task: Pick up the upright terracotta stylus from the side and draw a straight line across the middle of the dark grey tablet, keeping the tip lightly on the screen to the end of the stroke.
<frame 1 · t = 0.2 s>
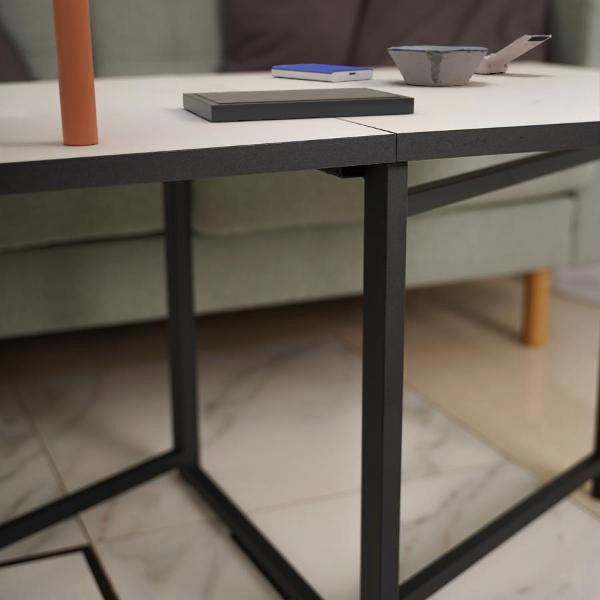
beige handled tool: (472, 73, 140), on the table
hard drive: (321, 79, 129), on the table
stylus: (80, 143, 69), on the table
tablet: (295, 110, 90), on the table
bowl: (436, 85, 120), on the table
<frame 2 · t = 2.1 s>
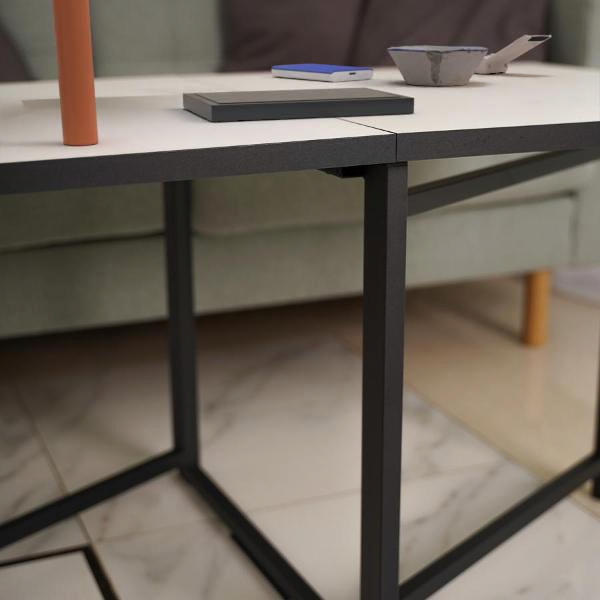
nothing on the table moved.
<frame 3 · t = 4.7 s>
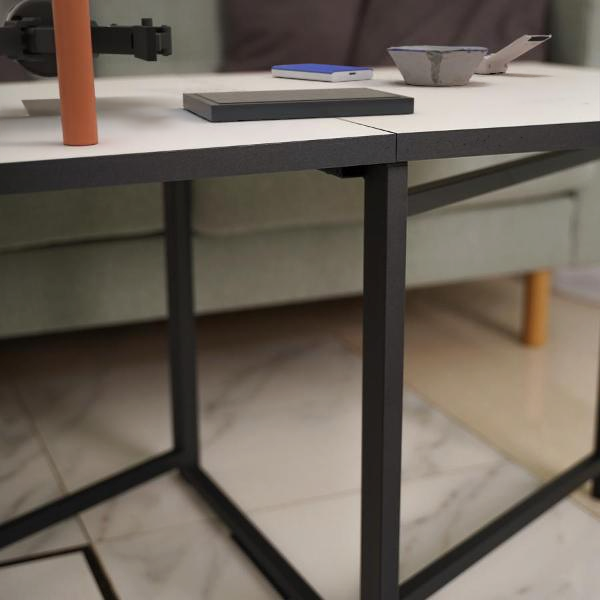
hand: (66, 45, 72), 7 cm above the table, tool horizontal, fingers open, 13 cm apart
nothing on the table moved.
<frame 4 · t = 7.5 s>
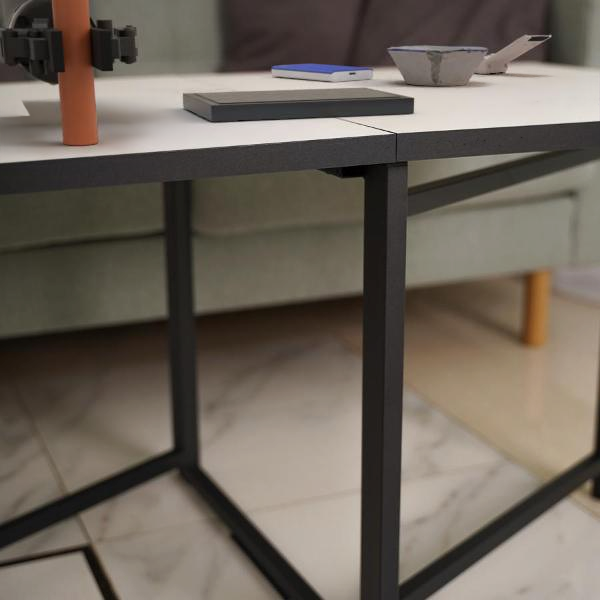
hand: (82, 51, 62), 7 cm above the table, tool horizontal, fingers closed on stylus, 3 cm apart
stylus: (80, 143, 69), on the table, touching gripper
everything else where it was.
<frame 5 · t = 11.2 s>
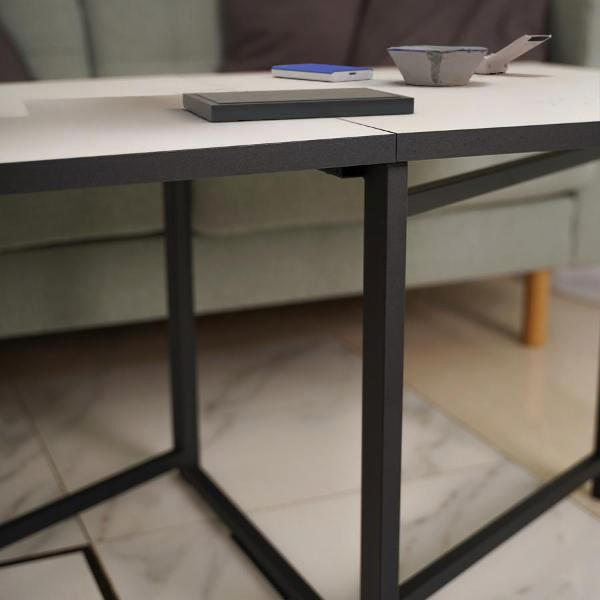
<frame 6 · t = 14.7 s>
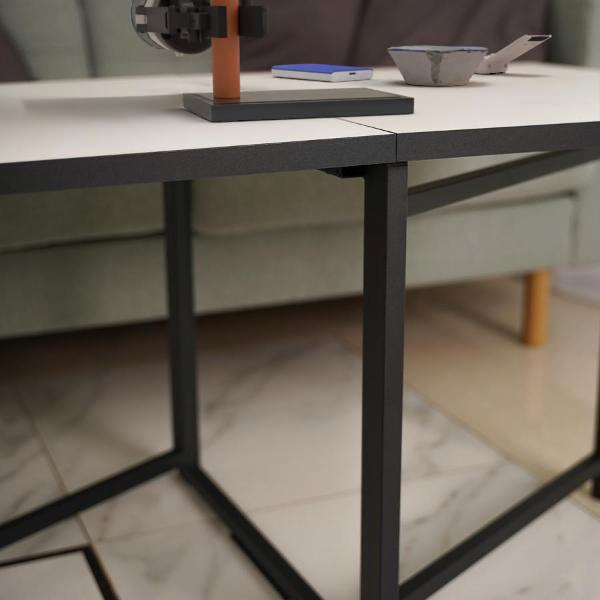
hand: (240, 21, 80), 9 cm above the table, tool horizontal, fingers closed on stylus, 3 cm apart
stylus: (226, 97, 87), point 2 cm above the table, touching gripper, tablet
everything else where it was.
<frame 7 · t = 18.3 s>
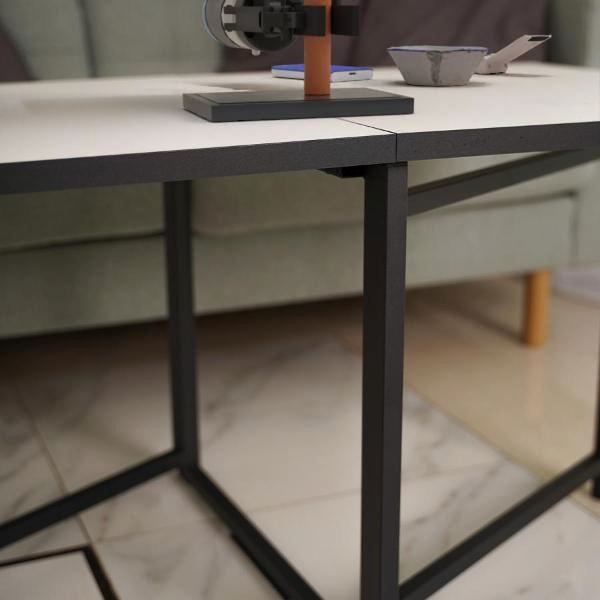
hand: (338, 20, 83), 9 cm above the table, tool horizontal, fingers closed on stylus, 3 cm apart
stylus: (317, 93, 90), point 2 cm above the table, touching gripper
everything else where it was.
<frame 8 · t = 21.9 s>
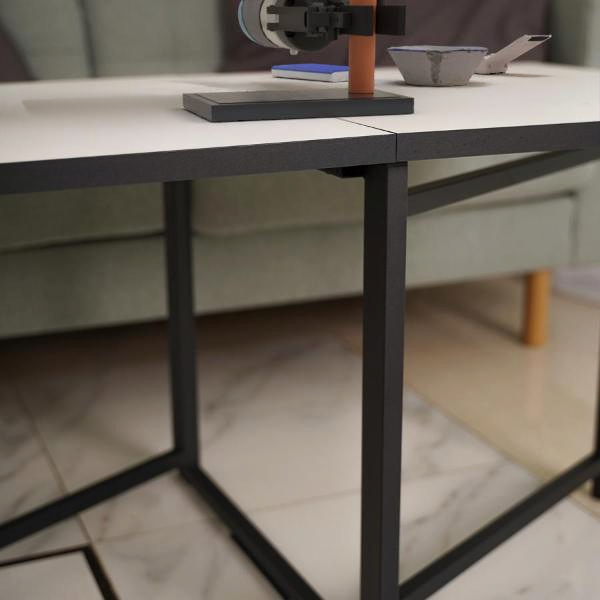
hand: (385, 20, 84), 9 cm above the table, tool horizontal, fingers closed on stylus, 3 cm apart
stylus: (361, 92, 92), point 2 cm above the table, touching gripper, tablet
everything else where it was.
at the end: the gripper is holding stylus; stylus touching gripper, tablet; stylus inside the target area on the tablet (0.2 cm from its centre), point 1.6 cm above the tablet's base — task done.
